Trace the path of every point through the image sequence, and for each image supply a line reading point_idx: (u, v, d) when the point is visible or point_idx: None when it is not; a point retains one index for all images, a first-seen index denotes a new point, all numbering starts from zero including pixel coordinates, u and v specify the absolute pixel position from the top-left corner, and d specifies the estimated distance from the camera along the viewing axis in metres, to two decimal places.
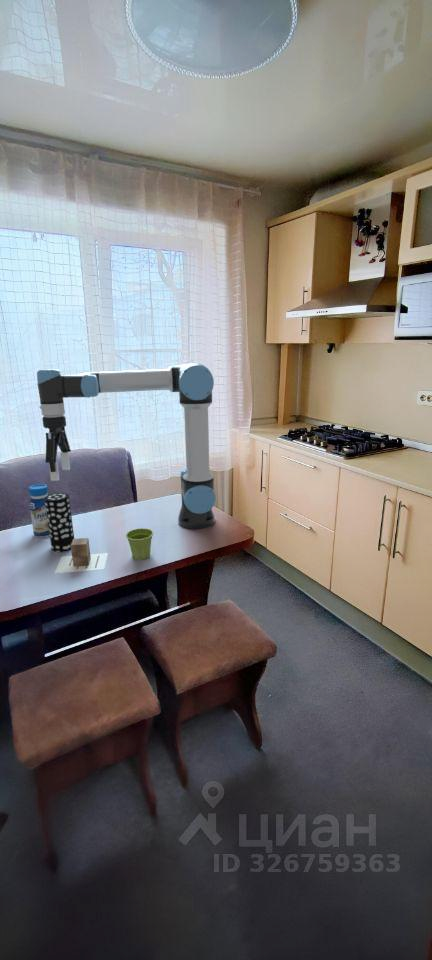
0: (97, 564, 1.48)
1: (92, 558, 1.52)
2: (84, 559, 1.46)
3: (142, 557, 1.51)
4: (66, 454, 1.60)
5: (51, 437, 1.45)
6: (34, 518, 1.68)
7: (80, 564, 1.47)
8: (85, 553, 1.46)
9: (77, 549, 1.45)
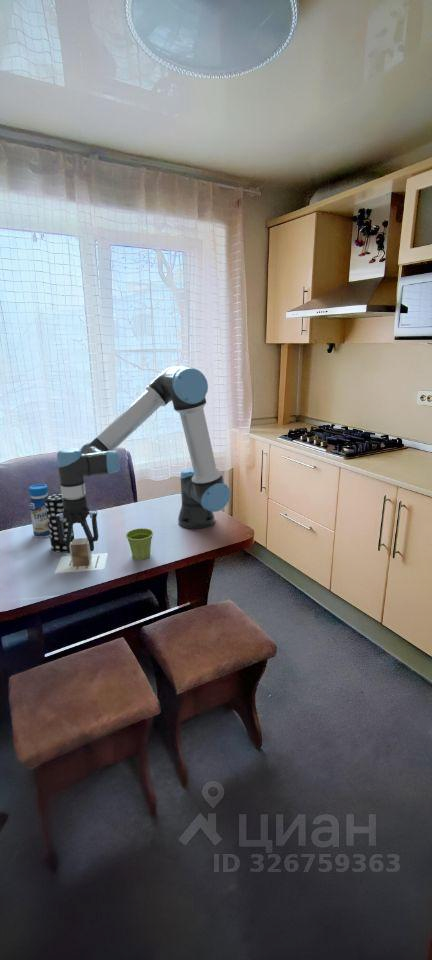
0: (97, 564, 1.48)
1: (92, 558, 1.52)
2: (84, 559, 1.46)
3: (142, 557, 1.51)
4: None
5: None
6: (34, 518, 1.68)
7: (80, 564, 1.47)
8: (85, 553, 1.46)
9: (77, 549, 1.45)
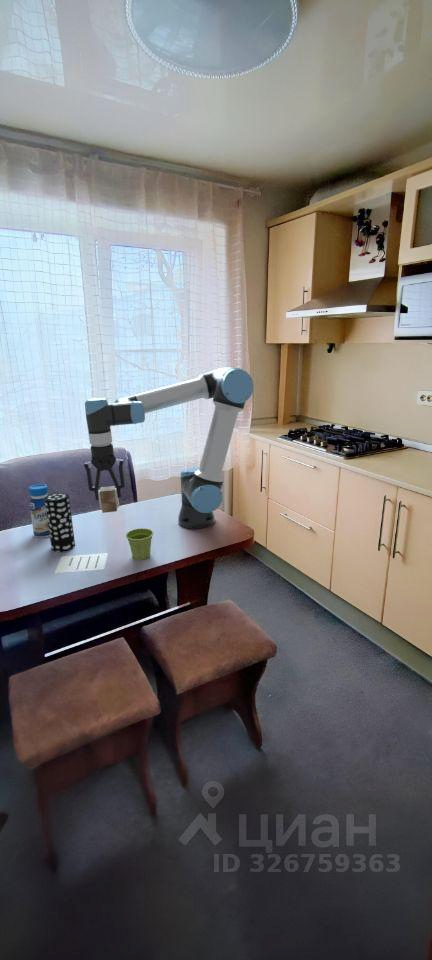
0: (97, 564, 1.48)
1: (92, 558, 1.52)
2: (112, 505, 1.54)
3: (142, 557, 1.51)
4: None
5: None
6: (34, 518, 1.68)
7: (109, 510, 1.54)
8: (113, 499, 1.54)
9: (105, 495, 1.53)
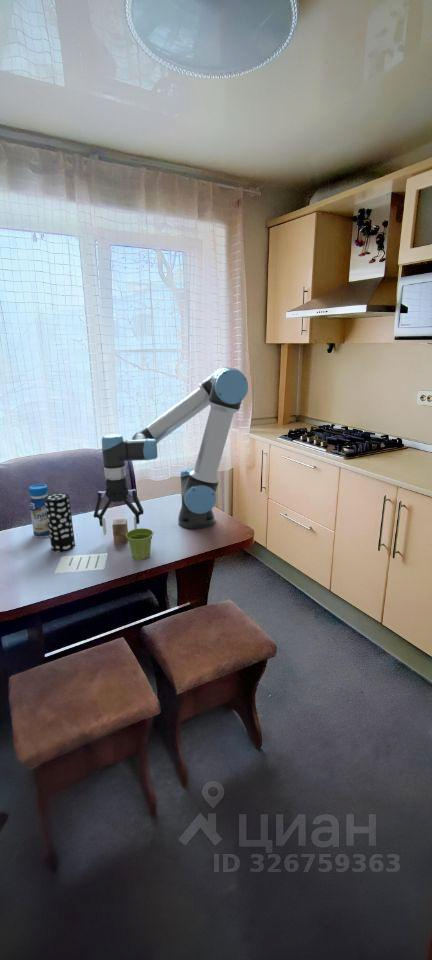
0: (97, 564, 1.48)
1: (92, 558, 1.52)
2: (124, 537, 1.63)
3: (142, 557, 1.51)
4: None
5: (98, 496, 1.59)
6: (34, 518, 1.68)
7: (120, 542, 1.63)
8: (125, 532, 1.63)
9: (117, 528, 1.62)
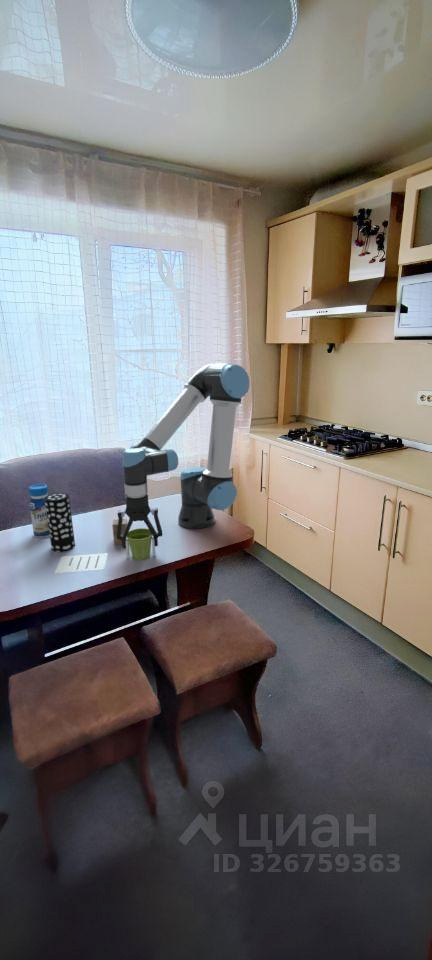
0: (97, 564, 1.48)
1: (92, 558, 1.52)
2: None
3: (142, 557, 1.51)
4: None
5: None
6: (34, 518, 1.68)
7: (120, 542, 1.63)
8: None
9: (117, 528, 1.62)
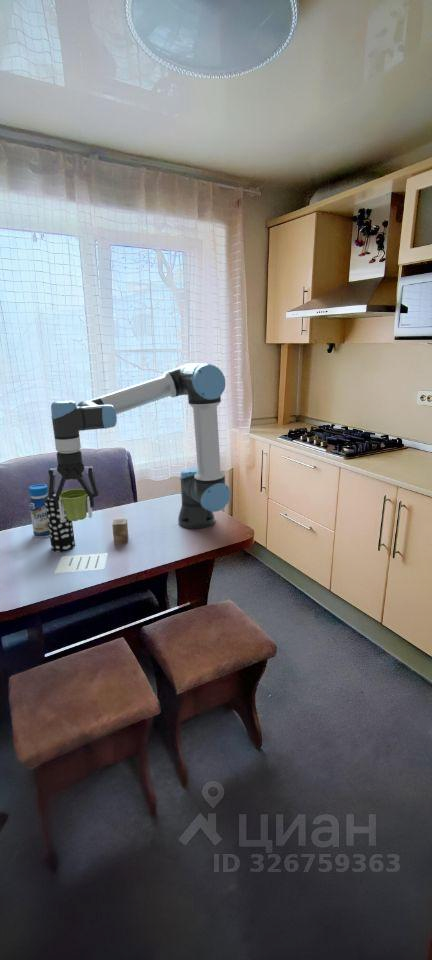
0: (97, 564, 1.48)
1: (92, 558, 1.52)
2: (124, 537, 1.63)
3: (76, 518, 1.41)
4: None
5: None
6: (34, 518, 1.68)
7: (120, 542, 1.63)
8: (125, 532, 1.63)
9: (117, 528, 1.62)
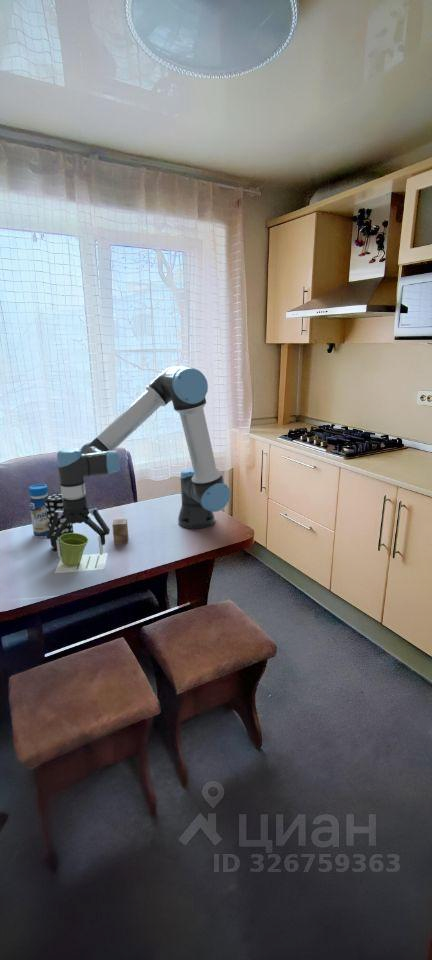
0: (97, 564, 1.48)
1: (92, 558, 1.52)
2: (124, 537, 1.63)
3: (70, 563, 1.46)
4: None
5: None
6: (34, 518, 1.68)
7: (120, 542, 1.63)
8: (125, 532, 1.63)
9: (117, 528, 1.62)
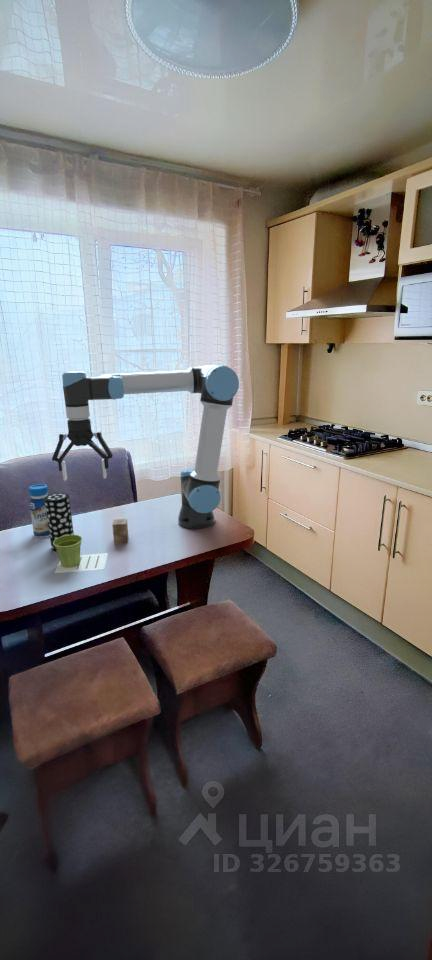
0: (97, 564, 1.48)
1: (92, 558, 1.52)
2: (124, 537, 1.63)
3: (69, 565, 1.46)
4: None
5: None
6: (34, 518, 1.68)
7: (120, 542, 1.63)
8: (125, 532, 1.63)
9: (118, 528, 1.62)
